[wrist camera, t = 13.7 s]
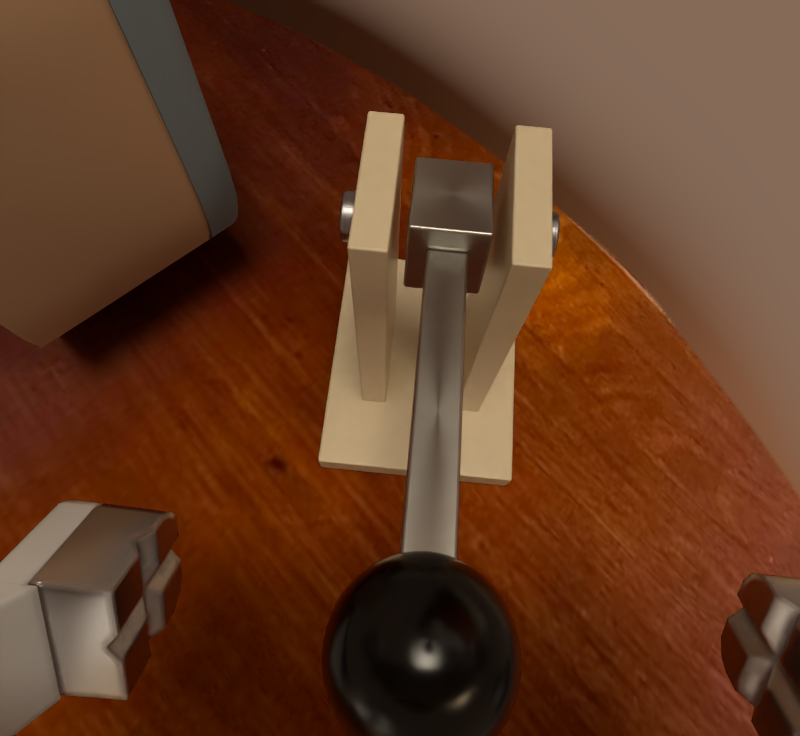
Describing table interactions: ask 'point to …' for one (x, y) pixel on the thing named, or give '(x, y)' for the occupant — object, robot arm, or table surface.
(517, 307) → the bracket
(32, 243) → the alarm clock
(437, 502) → the lever
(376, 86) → the table surface
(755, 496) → the table surface
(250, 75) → the table surface
